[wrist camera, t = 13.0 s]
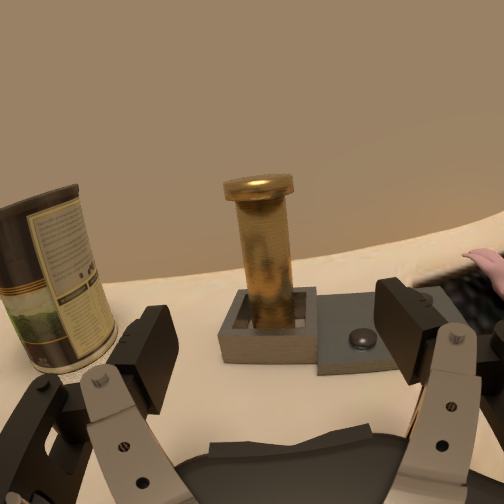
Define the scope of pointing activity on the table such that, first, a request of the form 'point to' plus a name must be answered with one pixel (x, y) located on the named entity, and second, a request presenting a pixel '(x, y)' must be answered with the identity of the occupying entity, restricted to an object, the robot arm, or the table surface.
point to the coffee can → (53, 282)
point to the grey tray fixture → (320, 332)
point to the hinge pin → (265, 246)
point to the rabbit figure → (490, 267)
